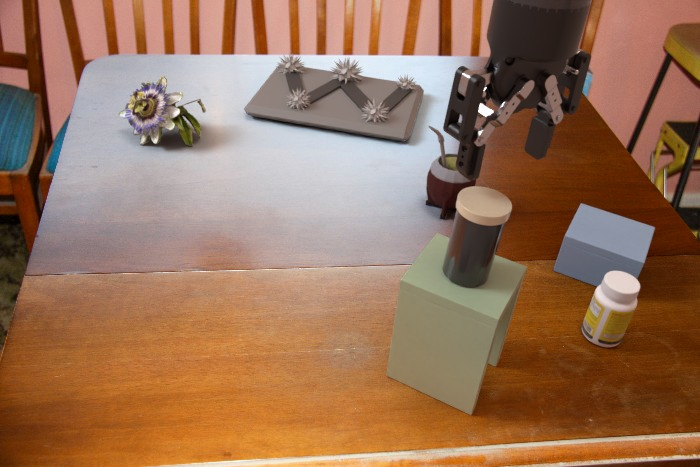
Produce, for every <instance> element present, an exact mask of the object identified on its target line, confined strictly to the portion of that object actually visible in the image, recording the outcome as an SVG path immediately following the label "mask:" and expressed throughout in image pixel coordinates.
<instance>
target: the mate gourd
mask: <svg viewBox="0 0 700 467" xmlns="http://www.w3.org/2000/svg"><path fill="white" fill-rule="evenodd" d="M428 128H429V129H430V130H431V131H432V132H434V133H435V135H436V136H437V141H438V143H439V148H440V155H439V156H437V157H436V158H435V159H434V160H432V163H431V165H430V167H429V170H428V172H427V175H426V186H425V188H426V197H427V199H426V200H425V205H426V206H429V207H433V208H437V209H441V211H440V215H439V219H440V220H443V221H445V220H446V217H447V215H448V212H449V211H450V212H453V213H454V212H455V213H456V210H457V208H456V201H457V197H458V194H459V192H460V191H461V190H463V189H465V188H467V187H472V186H476V184H477V179H475V180H472V181H470V180H468V179H467V178H465V177H464V176H463V175H461V174H460V173H459V172H458V170H457V169H456V159H457V154H458V153H446V149H445V137H444V135H443V134H442V133H441V132H440V130H439V129H437V128H435V127H433V126H431V125H428Z"/></svg>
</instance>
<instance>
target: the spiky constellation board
mask: <svg viewBox="0 0 700 467" xmlns="http://www.w3.org/2000/svg"><path fill="white" fill-rule="evenodd" d="M279 59H280V62H279V61H278V62H277V61H276V65H277V66H275V67H276V68H274V70H273V71H272V73H271V74H270V75H268V77H267V79H266V80H265V81H264V82H263V84H262V85H261V86H260V88H259V89H258V90H257V91H256V92H255V94H254V95H253V96H252V97H251V99H250V100H249V102H248V103H247V104H246V105H245V107H244V108H243V110H244V112H245V113H246V114H247V115H248V116H250V117H255V118H261V119H267V120H272V121H280V122H284V123H292V124H298V125H302V126H309V127H314V128H320V129H327V130H332V131H338V132H345V133H351V134H357V135H360V136H361V135H363V136H369V137H373V138H380V139H386V140H392V141H396V142H397V141H398V142H405V141H407V140H409V139H410V138H411V135H412V132H413V129H414V126H415V122H416V119H417V116H418V112H419V109H420V105H421V103H422V99H423V96H424V92H425V89H423V88H422V86H421V85H420V84H417V82H418V81H417V80H416V81H414V79H415V77H413V76H410V77H408V76H409V75H408V74H406V75H404V76H402V75H400V76H399V77H397V78H398V80H396V81H395V80H390V79H383V78H378V77H370V76H366V75H365V76H364V75H362V74H361V73H362V70H363V66H360V67H358V66H359V61H357V62H356V59H354V60H353V61H352V62H351V61H350V57H348V58H347V57H346V56H344V61H343V62H342V60H341V59H340V58H339V57H338V60H337V61H338V62H336V61H335V60H334V63H335V65H334V67H331V66H330V69H329V70H327V69H320V68H313V67H307V66H305V61H302V59H301V57H300V55H299V54H297V55H296V56H295V57H294V54H291V53H288V56H285V54H284V53H283V58H282V57H279Z"/></svg>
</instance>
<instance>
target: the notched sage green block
mask: <svg viewBox="0 0 700 467" xmlns="http://www.w3.org/2000/svg"><path fill="white" fill-rule="evenodd" d="M449 238H450V236H449V237H448V236H445V235H442V234H440V233H435V235H433V237H432V239H431V240H430V241H429V242H428V243H427V245H426V246H425V247H424V249H423V250H422V251H421V252H420V254H419V255H418V256H417V257H416V259H415V260H414V261H413V263H412V264H411V266H409V268H408V269H407V271H405V273H404V274H403V275H402V277H401V278H400V280H399V285H398V294H397V300H396V308H395V313H394V321H393V325H392V326H393V327H392V334H391V340H390V347H389V354H388V359H387V366H386V372H385V375H386V377H388V378H390V379H392V380H394V381H397V382H399V383H400V384H403V385H406V386H408V387H410V388H411V389H413V390H416V391H418V392H420V393H423V394H425V395H427V396H429V397H431V398H432V399H435V400H438V401H439V402H441V403H444V404H446V405H448V406H450V407H452V408H454V409H457V410H459V411H461V412H463V413H464V414H467V415H469V416H472V415H473V413H474V411H475V410H476V407H477V403H478V400H479V396H480V393H481V389H482V386H483V382H484V379H485V376H486V372H487V367H488V365H490V366H492V367H495V368H496V367H497V366H498V364H499V361H500V359H501V356H502V352H503V348H504V345H505V342H506V338H507V335H508V331H509V329H510V326H511V322H512V319H513V316H514V313H515V309H516V306H517V302H518V300H519V296H520V292H521V289H522V286H523V283H524V280H525V275H526V272H527V269H528V266H527V265H524V264H521V263H518V262H516V261H513V260H510V259H508V258H505V257H502V256H500V255H497V254H496V255H495V258H494V261H493V265H492V268H491V271H490V274H489V278H488V280H487V282H486V283H485V284H483V285H481V286H478V287H464V286H460V285H457V284H455V283H453V282H452V281H450V280H449V279H448V278H447V277H446V276H445V275H444V273H443V270H442V266H443V262H444V258H445V254H446V250H447V246H448V242H449Z"/></svg>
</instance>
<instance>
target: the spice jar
mask: <svg viewBox="0 0 700 467" xmlns="http://www.w3.org/2000/svg"><path fill="white" fill-rule="evenodd" d="M456 208H457V210H456V212H455V215H454V218H453V223H452V225H451V226H452V227H451V230H450V234H449V242H448V246H447V250H446V254H445V258H444V262H443V266H442V270H443V273H444V275H445V276H446V277H447V278H448V279H449V280H450V281H452V282H453V283H455V284H457V285H460V286H464V287H478V286H481V285H483V284H485V283H486V282H487V280H488V278H489V274H490V271H491V268H492V265H493V261H494V258H495V255H497V252H498V249H499V245H500V242H501V238H502V235H503V232H504V228H505V225H506V222H508V221H509V219H510V218H511V214H512V211H513V204H512V201H511V200H510V199H509V197H508V196H507V195H506V194H504V193H502V192H500V191H499V190H496V189H494V188H491V187H486V186H480V185H479V186H478V185H475V186H472V187H467V188H465V189H463V190H461V191H460V192H459V194H458V197H457V201H456Z"/></svg>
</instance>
